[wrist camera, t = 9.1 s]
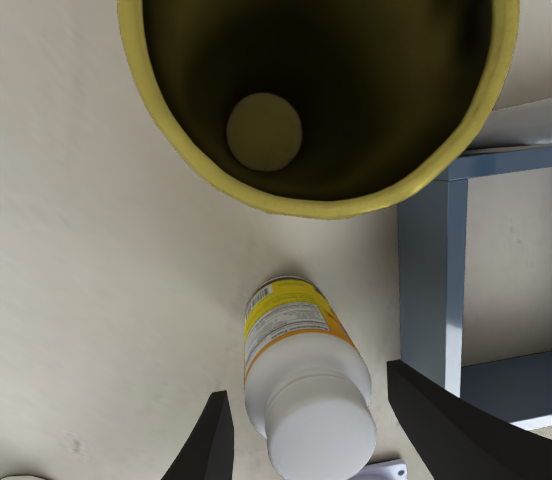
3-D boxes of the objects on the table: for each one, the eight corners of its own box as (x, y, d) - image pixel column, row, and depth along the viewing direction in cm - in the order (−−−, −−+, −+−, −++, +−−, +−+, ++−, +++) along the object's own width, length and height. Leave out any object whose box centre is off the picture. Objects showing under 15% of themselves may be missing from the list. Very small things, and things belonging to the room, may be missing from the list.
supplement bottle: (324, 344, 21) (392, 499, 11) (245, 349, 21) (245, 515, 11) (327, 270, 20) (408, 372, 10) (243, 273, 19) (241, 384, 10)
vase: (322, 175, 18) (552, 205, 5) (225, 197, 18) (160, 294, 4) (305, 67, 17) (570, -370, 3) (198, 88, 17) (-36, -288, 3)
